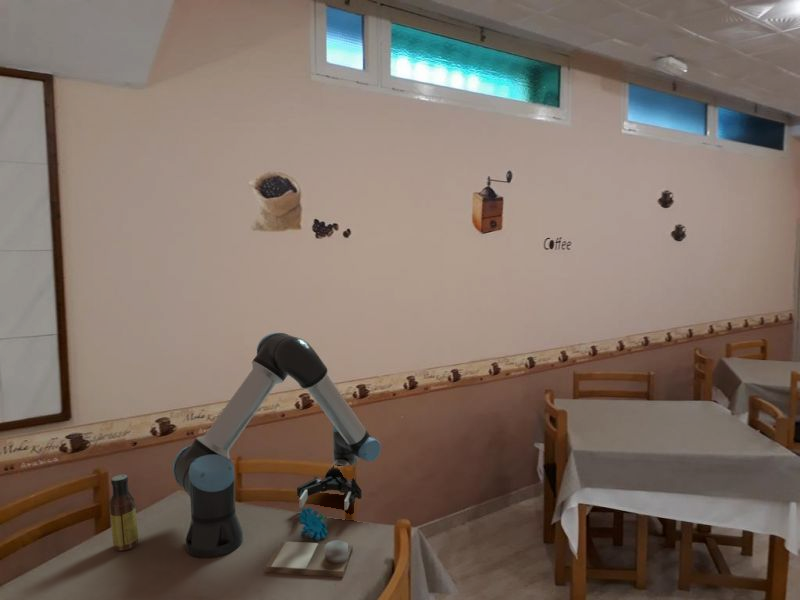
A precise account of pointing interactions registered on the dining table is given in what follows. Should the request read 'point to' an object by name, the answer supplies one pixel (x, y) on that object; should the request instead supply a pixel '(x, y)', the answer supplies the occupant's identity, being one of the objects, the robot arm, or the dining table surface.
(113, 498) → the sauce bottle
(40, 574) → the dining table surface
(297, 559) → the wooden board
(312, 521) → the gear
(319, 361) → the robot arm
